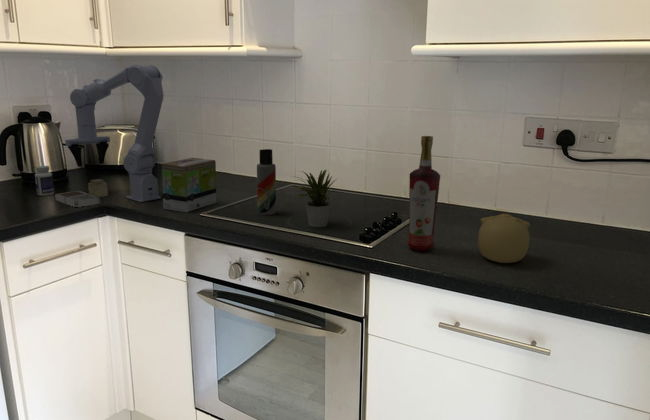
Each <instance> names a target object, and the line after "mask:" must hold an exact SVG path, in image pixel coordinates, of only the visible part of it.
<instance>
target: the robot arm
mask: <svg viewBox="0 0 650 420" xmlns="http://www.w3.org/2000/svg"><path fill="white" fill-rule="evenodd" d="M162 82H163V74H162V72H161V71H160V70H159V68H158V67H157V66H155V65H153V64H152V65H151V64H149V65H138V64H132V65H131V66H129V67H125V68H124V69H122V70H121V71H119V72H118V73H116V74H114V75H113V76H111V77H110V78H107V79H106V80H105V79H100V78H95V79H94V80H93V82H92V83H90V84H88V85H87V84H85V85H84V86H82V89H81V88H74V89H73V90H72V91H71V93H70V97H69V99H70V102H71V104H72V105H73V106H74V107H75V108H74V109H75V117H76V127H77V135H78V138H72V139H65V140H64V141H65V147H67V148H68V150H69V151H70V152H71V154H72V156H73V157H74V160H75V162H76V166H77V167H80V168H81V167H83V161H82V150H83V149H82V145H90V144H91V145H92V144H95V147H96V150H97V156H98V163H99V164H100V165H104V164H105V158H106V153H107V150H108V148H109V147H110V145H109V144H110V143H111V137H110V136H109V135H108V136H97V125H96V124H97V123H96V116H95V114H96V113H95V110H96V104H97V102H99V101H101V100H103V99H104V98H107V97H109V96H111V94H112V90H115V89H116V88H119V87H121V86H124V85H126V84H129V83H130V84H131V85H132V86H133V87H134V88H135V89H137V90H138V91H139V92H140V93H141V94H142V97H144V100H143V103H142V108H141V109H142V110H141V113H140V117H139V122H138V127H137V131H136V135H135V139H134V143H133V144H132V146H130V148H128V152H127V154H126V155H125V157H124V158H123V163H122V164H123V167H124V169H125V170H126V171H127V174H129V175H128V176H129V187H130V195H126V196H125V198H126V199H129V200H132V201H135V202H139V203H142V202H148V201H152V200H154V201H155V200H158V199H162V196H160V195H159V181H158V179H157V177H156V176H154V175H153V168H154V166H155V165H156V164H155V163H156V158H155V157H156V156H155V154H156V150H155V149H154V147H153V142H154V138H155V133H156V130H157V125H158V122H159V118H160V113H161V108H162V105H163V101H164V89H163V84H162ZM80 145H81V146H80Z"/></svg>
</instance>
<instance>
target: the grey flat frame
mask: <svg viewBox="0 0 650 420" xmlns="http://www.w3.org/2000/svg"><path fill="white" fill-rule="evenodd" d="M54 199H55V201H57V202H58V203H59V202H60V203H61V204H63V205H67V206H69V205H70V207H72V206H73V207H72V208H74V207H78V208H83V207H82V206H84V207H89V205H90V206H94V205H99V204H100V205H101V197H96V196H93V195H90V194H89V193H87V192H84V191H81V190H73V191H68V192H61V193H54Z"/></svg>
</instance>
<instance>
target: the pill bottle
mask: <svg viewBox="0 0 650 420" xmlns="http://www.w3.org/2000/svg"><path fill="white" fill-rule="evenodd" d="M35 171H36V173H35V174H34V179H35V187H36V195H38V196H42V197H43V196H51V195H55V186H54V177H53V173H52V172H50V166H49V165H39V166H35Z"/></svg>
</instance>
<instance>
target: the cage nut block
mask: <svg viewBox="0 0 650 420" xmlns="http://www.w3.org/2000/svg"><path fill="white" fill-rule="evenodd" d="M87 187H88V194H90V195H93V196H96V197H99V198H102V197H109V191H108V183H107V182H105V180H104V179H101V178H97V179H90V182H88V183H87Z"/></svg>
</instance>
